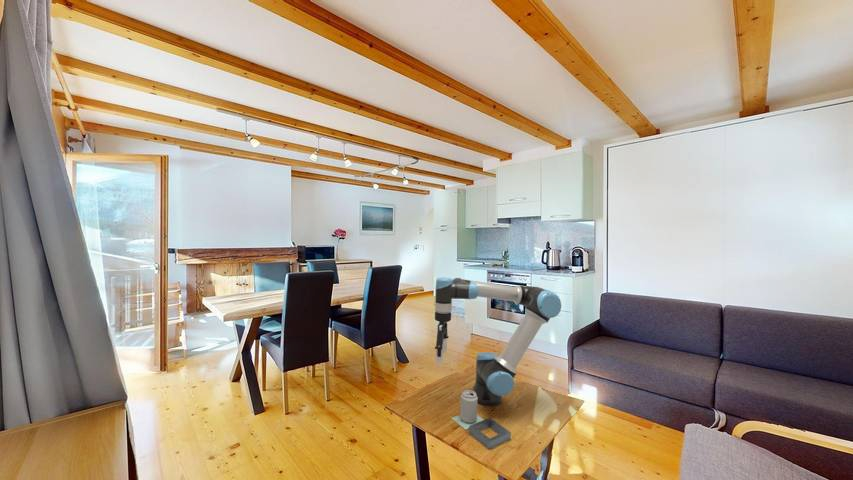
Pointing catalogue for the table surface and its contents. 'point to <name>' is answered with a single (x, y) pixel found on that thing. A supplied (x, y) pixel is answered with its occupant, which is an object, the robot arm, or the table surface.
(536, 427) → the table surface
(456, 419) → the mat
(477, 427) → the holder
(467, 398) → the can
